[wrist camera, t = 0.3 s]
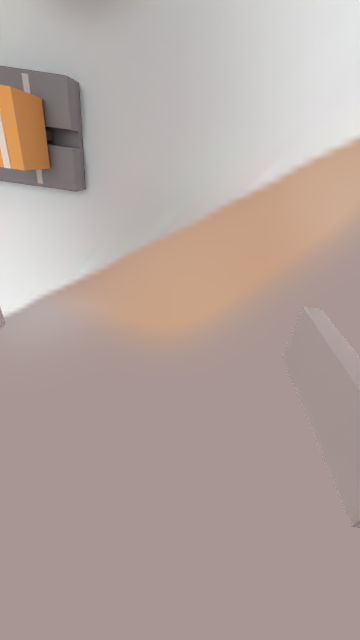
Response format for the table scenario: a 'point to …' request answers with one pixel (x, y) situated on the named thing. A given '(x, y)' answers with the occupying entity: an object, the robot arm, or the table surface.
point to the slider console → (52, 129)
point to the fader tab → (22, 131)
